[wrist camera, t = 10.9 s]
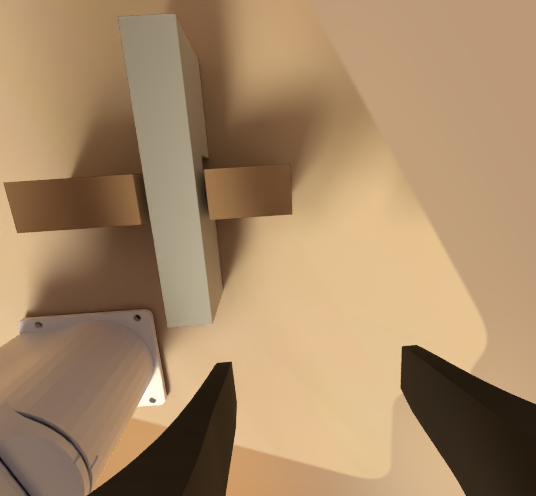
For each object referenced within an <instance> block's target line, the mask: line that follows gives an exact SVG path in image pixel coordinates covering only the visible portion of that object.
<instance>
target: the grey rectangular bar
mask: <svg viewBox="0 0 536 496" xmlns="http://www.w3.org/2000/svg"><path fill="white" fill-rule="evenodd" d="M118 22H119V28H120V34H121V41H122V47H123V53H124V59H125V66H126V72H127V78H128V84H129V90H130V97H131V103H132V109H133V115H134V122H135V128H136V134H137V140H138V146H139V153H140V159H141V165H142V171H143V178H144V184H145V190H146V196H147V202H148V209H149V215H150V221H151V227H152V234H153V240H154V246H155V252H156V259H157V265H158V271H159V277H160V283H161V290H162V296H163V302H164V308H165V315H166V321H167V327H168V328H171V327H185V326H199V325H212V324H213V321H214V318H215V314H216V311H217V308H218V305H219V302H220V299H221V295H222V292H223V286H222V277H221V267H220V258H219V248H218V239H217V230H216V220H210V218H209V215H208V208H207V199H206V190H205V182H204V173H203V164H202V159H208V158H209V154H208V145H207V136H206V126H205V117H204V107H203V98H202V89H201V79H200V70H199V61H198V58H197V56H196V54H195V52H194V50H193V48H192V46H191V44H190V42H189V40H188V38H187V36H186V34H185V32H184V30H183V28H182V26H181V24H180V22H179V20H178V18H177V16H176V14H175V13H174V14H156V15H137V16H119V17H118Z"/></svg>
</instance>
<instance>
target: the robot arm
mask: <svg viewBox="0 0 536 496" xmlns="http://www.w3.org/2000/svg"><path fill="white" fill-rule="evenodd" d="M136 315H139V316H140V317H141V319H138V318H137V317H136ZM39 322H40V323H41V324H42V326H41V325H40V324H39ZM18 329H19V333H20V335H18V336H16V337H15V338H13V339H12V340H10V341H9V342H7V343H6V344H4V345H3V346H1V347H0V496H225V495H226V488H227V482H228V474H229V468H230V462H231V456H232V449H233V443H234V436H235V429H236V411H237V401H236V393H235V385H234V377H233V369H232V362H223V363H217V364H216V365H215V366H214V368H213V369H212V371H211V372H210V374H209V375H208V377H207V378H206V380H205V381H204V383H203V384H202V386H201V387H200V389H199V390H198V391H197V393H196V394H195V395H194V397H193V398H192V400H191V401H190V402H189V403H188V405H187V406H186V407H185V408H184V410H183V411H182V412H181V413H180V414H179V416H178V417H177V418H176V419H175V420H174V421H173V423H172V424H171V425H170V426H169V427H168V428H167V429H166V430H165V431H164V432H163V433H162V435H160V437H159V438H158V439H157V440H155V441H154V442H153V443H152V444H151V445H150V446H149V447H148V448H147V449H146V450H145V451H143V452H142V453H141V454H140V455H139V456H138V457H137V458H136V459H134V460H133V461H132V462H131V463H130V464H128V465H127V466H126V467H125V468H123V469H122V470H121V471H120V472H119V473H117V474H116V475H115V476H113V477H112V478H111V479H109V480H108V481H107V482H105V483H104V484H103V485H101V486H100V487H98V488H97V489H96V490H94V491H93V489H94V487H95V485H96V483H97V482H98V480H99V478H100V476H101V474H102V472H103V470H104V468H105V466H106V465H107V463H108V461H109V458H110V457H111V455H112V453H113V451H114V450H115V447H116V446H117V444H118V442H119V440H120V438H121V436H122V434H123V433H124V431H125V429H126V427H127V425H128V423H129V421H130V419H131V417H132V416H133V414H134V412H135V410H136V408H137V407H138V406H151V405H161V404H164V403H165V401H166V399H167V394H166V388H165V382H164V376H163V371H162V365H161V359H160V353H159V348H158V342H157V336H156V331H155V325H154V319H153V314H152V312H151V311H150V310H148V309H138V310H124V311H110V312H97V313H83V314H69V315H56V316H42V317H28V318H23V319H22V320H20V321H19V322H18ZM401 390H402V392H403V394H404V396H405V398H406V400H407V402H408V404H409V406H410V408H411V410H412V412H413V413H414V415H415V416H416V418H417V419H418V421H419V423H420V424H421V426H422V427H423V429H424V430H425V432H426V433H427V435H428V436H429V438H430V439H431V441H432V442H433V444H434V445H435V447H436V448H437V450H438V451H439V453H440V454H441V456H442V457H443V458H444V460H445V462H446V463H447V465H448V466H449V468H450V469H451V471H452V472H453V474H454V476H455V477H456V479H457V480H458V482H459V484H460V486H461V487H462V489H463V491H464V493H465V495H466V496H536V404H534V403H532V402H529V401H526V400H524V399H522V398H520V397H517V396H515V395H513V394H510V393H508V392H506V391H504V390H502V389H499V388H497V387H495V386H493V385H491V384H489V383H487V382H485V381H483V380H481V379H479V378H477V377H475V376H473V375H471V374H469V373H468V372H466V371H464V370H462V369H460V368H458V367H456V366H455V365H453V364H451V363H449V362H447V361H446V360H444V359H442V358H440V357H438V356H437V355H435V354H433V353H431V352H429V351H427V350H425V349H424V348H422V347H419V346H417V345H412V346H402V362H401ZM152 397H153V398H155V399H152ZM92 491H93V492H92Z"/></svg>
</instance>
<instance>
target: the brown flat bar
mask: <svg viewBox="0 0 536 496" xmlns="http://www.w3.org/2000/svg"><path fill="white" fill-rule="evenodd" d="M203 173H204V182H205V190H206V199H207V208H208V215H209V218H210V220H216V219H231V218H245V217H260V216H274V215H289V214H292V195H291V173H290V164H280V165H265V166H250V167H234V168H219V169H204V171H203ZM4 187H5V190H6V194H7V198H8V201H9V205H10V208H11V212H12V216H13V219H14V223H15V227H16V230H17V233H26V232H41V231H55V230H70V229H84V228H99V227H114V226H128V225H141V224H144V223H147V222H149V221H150V215H149V209H148V202H147V196H146V190H145V184H144V178H143V175H142V174H128V175H112V176H97V177H82V178H66V179H51V180H36V181H21V182H5V183H4Z"/></svg>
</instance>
